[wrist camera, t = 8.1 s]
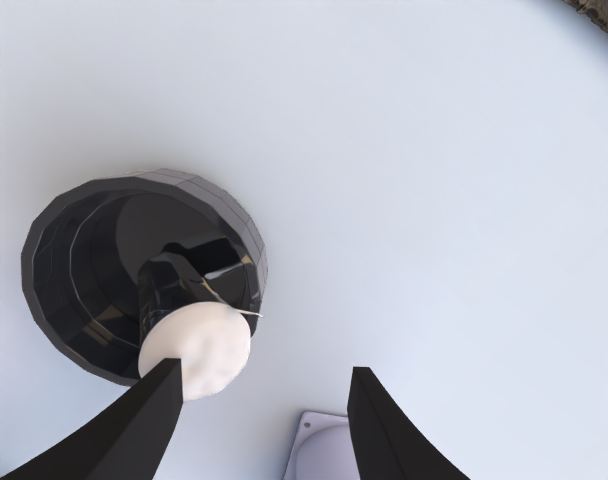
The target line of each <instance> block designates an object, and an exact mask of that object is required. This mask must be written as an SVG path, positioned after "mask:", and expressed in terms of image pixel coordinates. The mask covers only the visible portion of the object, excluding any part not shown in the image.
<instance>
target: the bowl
mask: <svg viewBox="0 0 608 480" xmlns="http://www.w3.org/2000/svg"><path fill="white" fill-rule="evenodd" d="M162 252H171V253H176V254H182V255H183V256H184V257H185V258H186V259H187V260H188V261H189V262H190V263H191V264H192V266H193V267H194V268H195V269H196V270H197V271H198V272H199V273H200V274H201V276H202V277H203V278H204V279H205V280H206V281H207V282H208V283H209V284H210V285H211V286H212V287H213V288H214V289H215V290H216V291H217V292H219V293H220V294H221V295H222V296H223V297H224V298H225V299H226V300H227V301H228V302H229V303H230V304H231V305H232V306H233V307H234V308H236V309H240V310H245V311H250V312H255V313H258V314H259V312H260V307H261V302H262V298H263V293H264V288H265V283H266V278H267V272H268V269H267V261H266V254H265V246H264V242H263V240H262V238H261V236H260V234H259V232H258V230H257V228H256V226H255V224H254V222H253V220H252V218H251V217H250V215H249V214H248V213H247V212H246V211H245V210H244V209H243V208H242V207H241V206H240V205H239V204H238V203H237V202H236V200H235V199H234V198H233V197H232V196H231V195H230V194H228V192H226V191H225V190H223V189H221V188H219V187H218V186H216V185H214V184H212V183H211V182H209V181H207V180H205V179H203V178H202V177H200V176H197V175H193V174H188V173H184V172H180V171H175V170H171V169H153V170H142V171H133V172H128V173H123V174H118V175H113V176H109V177H104V178H99V179H94V180H91V181H88V182H86V183H84V184H82V185H80V186H78V187H76V188H73V189H71V190H69V191H67V192H65V193H63V194H60V195H59V196H57V197H56V198H55V199H54V200H53V201H52V202H51V203H50V204H49V205H48V206H47V207H46V208H45V209H44V211H43V212H42V213H41V214H40V215H39V216H38V217H37V218H36V219H35V220H34V221H33V223H32V225H31V228H30V230H29V233H28V236H27V239H26V241H25V244H24V247H23V250H22V252H21V275H22V291H23V293H24V296H25V298H26V301H27V303H28V306H29V309H30V311H31V314H32V316H33V319H34V321H36V324H37V325H38V326H39V327H40V329H41V330H42V331H43V332H44V334H45V335H46V336H47V337H48V339H49V340H50V341H51V343H52V344H53V345H54V346H55V348H56V349H58V351H60V352H61V353H62V354H64V355H65V356H66V357H68V358H69V359H70V360H72V361H73V362H75V363H76V364H77V365H79V366H80V367H81V368H83V369H84V370H86V371H87V372H90V373H92V374H94V375H97V376H99V377H102V378H104V379H106V380H109V381H111V382H113V383H116V384H119V385H123V386H129V387H132V386H133V385H135V384H136V383H137V382H138V381H139V380H140V379H141V376H140V373H139V368H138V362H139V320H140V308H139V291H138V276H137V272H138V271H139V270H140V268H141V267H142V265H143V264H144V263H145V261H146V260H147V259H148V258H149V257H152V256H155V255H157V254H160V253H162ZM239 313H240V312H239ZM240 314H241V315H242V316H243V317H244V318H245V320H246V321H247V323H248V325H249V328H250V339H251V337H252V336H253V334H254V333H255V331H256V326H257V321H258V317H259V316H254V315H249V314H245V313H240Z"/></svg>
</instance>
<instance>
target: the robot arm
mask: <svg viewBox="0 0 608 480" xmlns="http://www.w3.org/2000/svg"><path fill="white" fill-rule="evenodd" d="M182 405H183V385H182V365H181V358H164V359H163V360H161V361H160V362H159V363H158V364H157V365H156V366H155V367H154V368H152V369H151V370H150V371H149V372H148V373H147V374H146V375H145V376H144V377H142V378H141V379H140V380H139V381H138V382H137V383H136V384H135V385H133V386H132V387H131V388H130V389H129V390H128V391H126V392H125V393H124V394H123V395H122V396H121V397H119V398H118V399H117V400H116V401H115V402H113V403H112V404H111V405H110V406H108V407H107V408H106V409H105V410H103V411H102V412H101V413H99V414H98V415H97V416H96V417H94V418H93V419H92V420H90V421H89V422H88V423H86V424H85V425H84V426H82V427H81V428H80V429H78V430H77V431H75V432H74V433H72V434H71V435H69V436H68V437H67V438H65V439H64V440H62V441H61V442H59V443H58V444H56V445H55V446H53V447H51V448H50V449H48V450H46V451H45V452H43V453H42V454H40V455H38V456H37V457H35V458H33V459H32V460H30V461H29V462H27V463H25V464H24V465H22V466H20V467H19V468H17V469H15V470H14V471H12V472H10V473H8V474H6V475H5V476H3V477H1V478H0V480H152V479H153V477H154V475H155V473H156V470H157V468H158V466H159V464H160V461H161V459H162V457H163V455H164V453H165V450H166V448H167V446H168V443H169V441H170V439H171V437H172V434H173V432H174V430H175V427H176V424H177V421H178V418H179V414H180V411H181V408H182ZM347 412H348V418H346V417H340V416H334V415H328V414H322V413H316V412H305V413H303V415H302V417H301V421H300V424H299V428H298V431H297V434H296V438H295V441H294V445H293V448H292V452H291V455H290V459H289V462H288V466H287V469H286V472H285V476H284V479H283V480H470V479H469V478H468V477H467V476H466V475H465V474H463V473H462V472H461V471H460V470H459V469H458V468H456V467H455V466H454V465H453V464H452V463H451V462H450V461H449V460H448V459H447V458H445V457H444V456H443V455H442V454H441V453H440V452H439V451H438V450H437V449H436V448H435V447H434V446H433V445H432V444H431V443H430V442H429V441H428V440H427V439H426V438H425V437H424V435H423V434H422V433H421V432H420V431H419V430H418V429H417V428H416V427H415V425H414V424H413V423H412V422H411V421H410V420H409V418H408V417H407V416H406V415H405V414H404V412H403V411H402V410H401V409H400V407H399V406H398V405H397V404H396V403H395V401H394V400H393V399H392V397H391V396H390V395H389V393H388V392H387V391H386V389H385V388H384V387H383V385H382V384H381V383H380V381H379V380H378V378H377V377H376V376H375V374H374V373H373V371H372V370H371V369H370V368H369V367H353V373H352V379H351V386H350V393H349V399H348V406H347Z"/></svg>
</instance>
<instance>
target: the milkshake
mask: <svg viewBox="0 0 608 480" xmlns="http://www.w3.org/2000/svg"><path fill="white" fill-rule="evenodd" d="M137 276H138V291H139V308H140V320H139V362H138V368H139V373H140V376H141V378H142V377H144V376H145V375H146V374H147V373H148V372H149V371H150V370H151V369H152V368H154V367H155V366H156V365H157V364H158V363H159V362H160V361H161V360H163V359H164V358H181V365H182V385H183V402H189V401H193V400H197V399H200V398H203V397H206V396H210V395H213V394H216V393H218V392H220V391H221V390H222V389H224V388H225V387H226V386H227V385H228V384H229V383H230V382H231V381H232V380H233V379H234V378H235V377H236V376H237V375H238V374H239V373H240V372H241V371H242V370H243V369H244V367H245V365H246V363H247V360H248V357H249V353H250V328H249V325H248V323H247V321H246V320H245V318H244V317H243V316H242V315H241V314H240V313H245V314H249V315H254V316H259V317H263V318H264V316H262V315H260V314H258V313H255V312H250V311H245V310H240V309H236V308H234V307H233V306H232V305H231V304H230V303H229V302H228V301H227V300H226V299H225V298H224V297H223V296H222V295H221V294H220V293H219V292H217V291H216V290H215V289H214V288H213V287H212V286H211V285H210V284H209V283H208V282H207V281H206V280H205V279H204V278H203V277H202V276H201V274H200V273H199V272H198V271H197V270H196V269H195V268H194V267H193V266H192V264H191V263H190V262H189V261H188V260H187V259H186V258H185V257H184V256H183V255H182V254H176V253H171V252H162V253H160V254H157V255H155V256H152V257H149V258H148V259H147V260H146V261H145V263H144V264H143V265H142V267H141V268H140V270H139V271H138V272H137ZM239 312H240V313H239Z"/></svg>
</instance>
